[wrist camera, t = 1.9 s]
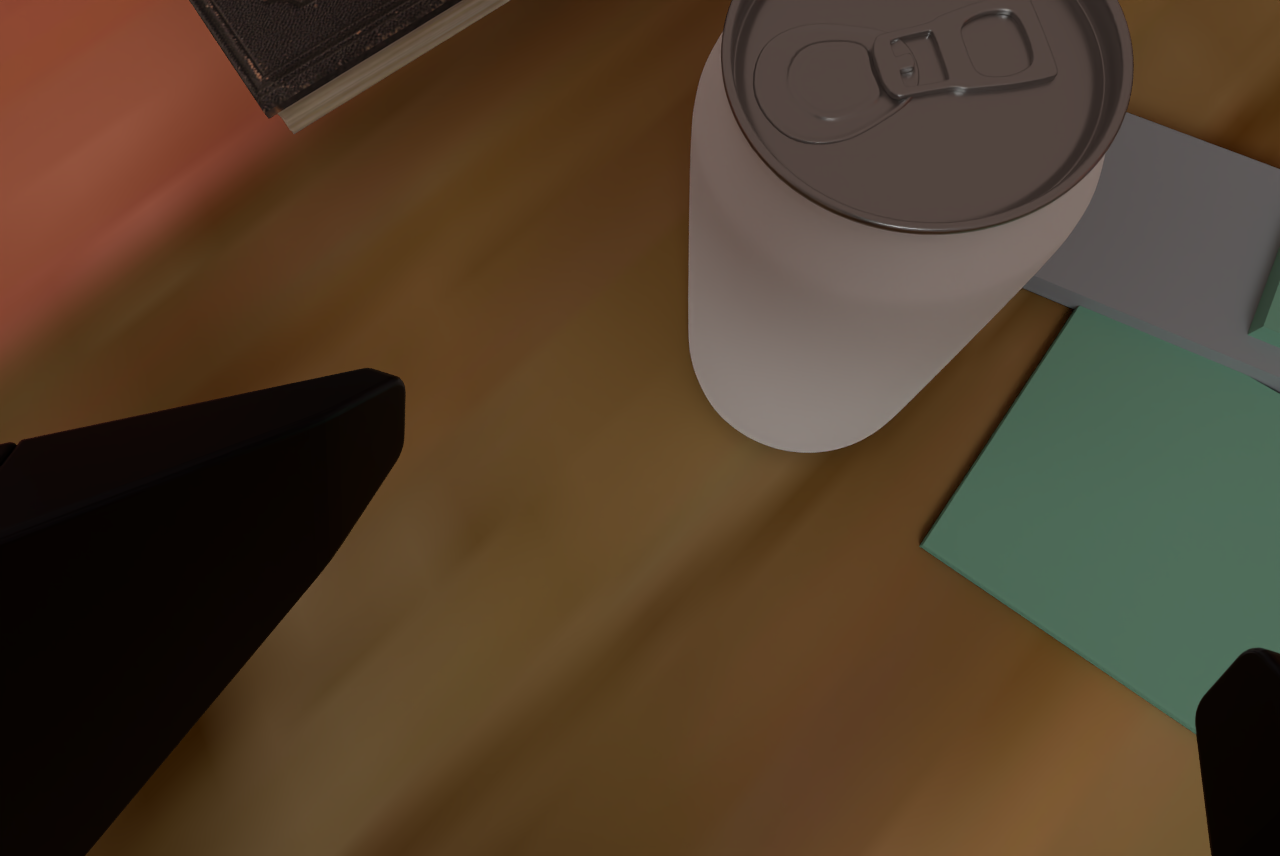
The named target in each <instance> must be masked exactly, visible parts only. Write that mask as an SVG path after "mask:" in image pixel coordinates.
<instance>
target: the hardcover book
mask: <svg viewBox="0 0 1280 856" xmlns="http://www.w3.org/2000/svg"><path fill="white" fill-rule="evenodd" d="M189 1H190V2H191V4H192V5H193V7H194V8H195V10H196V11H197V13H198V14H199V16H200V17H201V19H202V20H203V22H204V23H205V25H206V26H207V28H208V29H209V31H210V32H211V34H212V35H213V37H214V38H215V40H216V41H217V43H218V44H219V46H220V47H221V49H222V50H223V52H224V53H225V55H226V56H227V58H228V59H229V61H230V62H231V64H232V65H233V67H234V68H235V70H236V71H237V73H238V74H239V76H240V77H241V79H242V80H243V82H244V83H245V85H246V86H247V88H248V89H249V91H250V92H251V94H252V95H253V97H254V98H255V100H256V101H257V103H258V104H259V106H260V107H261V109H262V110H263V112H264V113H265V115H266V116H267V117H268V118H271V117H273V116H274V115H276V114H278V115H279V116H281V117H282V119H283V120H284V122H285V123H286V125H287V126H288V128H289V129H290V130H291V131H292V132H293V134H295V133H297V132H298V131H300V130H301V129H303V128H305V127H306V126H308V125H310V124H311V123H313V122H314V121H316V120H318V119H319V118H321V117H323V116H324V115H326V114H327V113H329V112H331V111H332V110H334V109H335V108H337V107H339V106H340V105H342V104H344V103H345V102H347V101H348V100H350V99H352V98H353V97H355V96H356V95H358V94H360V93H361V92H363V91H365V90H366V89H368V88H369V87H371V86H373V85H374V84H376V83H377V82H379V81H381V80H382V79H384V78H386V77H387V76H389V75H390V74H392V73H394V72H395V71H397V70H398V69H400V68H402V67H403V66H405V65H407V64H408V63H410V62H411V61H413V60H415V59H416V58H418V57H419V56H421V55H423V54H424V53H426V52H428V51H429V50H431V49H432V48H434V47H436V46H437V45H439V44H441V43H442V42H444V41H445V40H447V39H449V38H450V37H452V36H453V35H455V34H457V33H458V32H460V31H462V30H463V29H465V28H466V27H468V26H470V25H471V24H473V23H474V22H476V21H478V20H479V19H481V18H483V17H484V16H486V15H487V14H489V13H491V12H492V11H494V10H495V9H497V8H499V7H500V6H502V5H504V4H505V3H507V2H508V1H510V0H189Z"/></svg>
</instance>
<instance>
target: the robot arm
mask: <svg viewBox="0 0 1280 856" xmlns="http://www.w3.org/2000/svg"><path fill="white" fill-rule="evenodd" d="M404 431H405V386H404V383H403V381H402V380H401V379H400V378H399V377H397V376H394V375H391V374H388V373H385V372H381V371H378V370H375V369H372V368H363V369H358V370H354V371H349V372H344V373H339V374H334V375H330V376H325V377H320V378H315V379H311V380H306V381H301V382H296V383H291V384H287V385H282V386H277V387H272V388H268V389H263V390H258V391H253V392H248V393H244V394H239V395H234V396H229V397H225V398H220V399H215V400H210V401H205V402H201V403H196V404H191V405H186V406H182V407H177V408H172V409H167V410H162V411H158V412H153V413H148V414H143V415H139V416H134V417H129V418H124V419H119V420H115V421H110V422H105V423H100V424H96V425H91V426H86V427H81V428H77V429H72V430H67V431H62V432H57V433H53V434H48V435H43V436H38V437H34V438H29V439H24V440H21V441H20V442H19V443H18V445H16V444H15V443H12V442H8V443H4V444H0V856H85V855H86V854H87V853H88V852H89V850H90V849H91V848H92V847H93V846H94V844H95V843H96V842H97V841H98V840H99V838H100V837H101V836H102V835H103V834H104V832H105V831H106V830H107V829H108V828H109V826H110V825H111V824H112V823H113V822H114V820H115V819H116V818H117V817H118V816H119V814H120V813H121V812H122V811H123V810H124V808H125V807H126V806H127V805H128V804H129V802H130V801H131V800H132V799H133V798H134V796H135V795H136V794H137V793H138V792H139V790H140V789H141V788H142V787H143V786H144V784H145V783H146V782H147V781H148V780H149V778H150V777H151V776H152V775H153V774H154V773H155V771H156V770H157V769H158V768H159V767H160V765H161V764H162V763H163V762H164V761H165V759H166V758H167V757H168V756H169V755H170V753H171V752H172V751H173V750H174V749H175V747H176V746H177V745H178V744H179V743H180V741H181V740H182V739H183V738H184V737H185V735H186V734H187V733H188V732H189V731H190V729H191V728H192V727H193V726H194V725H195V723H196V722H197V721H198V720H199V719H200V717H201V716H202V715H203V714H204V713H205V711H206V710H207V709H208V708H209V707H210V705H211V704H212V703H213V702H214V701H215V699H216V698H217V697H218V696H219V695H220V693H221V692H222V691H223V690H224V689H225V687H226V686H227V685H228V684H229V683H230V681H231V680H232V679H233V678H234V677H235V675H236V674H237V673H238V672H239V671H240V669H241V668H242V667H243V666H244V665H245V663H246V662H247V661H248V660H249V659H250V657H251V656H252V655H253V654H254V653H255V651H256V650H257V649H258V648H259V647H260V645H261V644H262V643H263V642H264V641H265V639H266V638H267V637H268V636H269V635H270V633H271V632H272V631H273V630H274V629H275V627H276V626H277V625H278V624H279V623H280V621H281V620H282V619H283V618H284V617H285V615H286V614H287V613H288V612H289V611H290V609H291V608H292V607H293V606H294V605H295V603H296V602H297V601H298V600H299V599H300V597H301V596H302V595H303V594H304V593H305V591H306V590H307V589H308V588H309V587H310V585H311V584H312V583H313V582H314V581H315V579H316V578H317V577H318V576H319V575H320V573H321V572H322V571H323V569H324V568H325V567H326V566H327V564H328V563H329V562H330V561H331V559H332V558H333V556H334V555H335V554H336V552H337V551H338V549H339V548H340V546H341V545H342V544H343V542H344V541H345V539H346V538H347V536H348V534H349V533H350V531H351V530H352V528H353V527H354V525H355V524H356V522H357V521H358V519H359V518H360V516H361V515H362V513H363V512H364V510H365V509H366V507H367V506H368V504H369V502H370V501H371V499H372V498H373V496H374V495H375V493H376V492H377V490H378V489H379V487H380V486H381V484H382V483H383V481H384V480H385V478H386V477H387V475H388V473H389V472H390V470H391V469H392V467H393V466H394V464H395V463H396V461H397V460H398V458H399V456H400V453H401V451H402V448H403V443H404ZM1195 727H1196V736H1197V744H1198V752H1199V760H1200V768H1201V776H1202V784H1203V792H1204V801H1205V809H1206V817H1207V825H1208V833H1209V841H1210V849H1211V855H1212V856H1280V653H1277V652H1274V651H1271V650H1268V649H1264V648H1260V647H1258V648H1250V649H1248V650H1246V651H1244V652H1242V653H1241V654H1240V655H1239V656H1238V657H1237V658H1236V660H1235V661H1234V662H1233V663H1232V664H1231V665H1230V666H1229V668H1228V669H1227V670H1226V671H1225V672H1224V673H1223V674H1222V675H1221V677H1220V678H1219V679H1218V680H1217V681H1216V682H1215V683H1214V685H1213V686H1212V687H1211V688H1210V689H1209V690H1208V691H1207V692H1206V694H1205V695H1204V696H1203V697H1202V699H1201V700H1200V702H1199V704H1198V707H1197V710H1196V716H1195Z"/></svg>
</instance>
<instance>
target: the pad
mask: <svg viewBox="0 0 1280 856" xmlns="http://www.w3.org/2000/svg"><path fill="white" fill-rule="evenodd" d="M920 547H921V548H923V549H924V550H926V551H927V552H929V553H930V554H932V555H933V556H935V557H936V558H938V559H939V560H940V561H942V562H943V563H945V564H946V565H948V566H949V567H951V568H952V569H954V570H955V571H957V572H958V573H960V574H961V575H963V576H964V577H965V578H967V579H968V580H970V581H971V582H973V583H974V584H976V585H977V586H979V587H980V588H982V589H983V590H985V591H986V592H988V593H989V594H990V595H992V596H993V597H995V598H996V599H998V600H999V601H1001V602H1002V603H1004V604H1005V605H1007V606H1008V607H1010V608H1011V609H1013V610H1014V611H1015V612H1017V613H1018V614H1020V615H1021V616H1023V617H1024V618H1026V619H1027V620H1029V621H1030V622H1032V623H1033V624H1035V625H1036V626H1038V627H1039V628H1040V629H1042V630H1043V631H1045V632H1046V633H1048V634H1049V635H1051V636H1052V637H1054V638H1055V639H1057V640H1058V641H1060V642H1061V643H1063V644H1064V645H1065V646H1067V647H1068V648H1070V649H1071V650H1073V651H1074V652H1076V653H1077V654H1079V655H1080V656H1082V657H1083V658H1085V659H1086V660H1088V661H1089V662H1091V663H1092V664H1093V665H1095V666H1096V667H1098V668H1099V669H1101V670H1102V671H1104V672H1105V673H1107V674H1108V675H1110V676H1111V677H1113V678H1114V679H1116V680H1117V681H1118V682H1120V683H1121V684H1123V685H1124V686H1126V687H1127V688H1129V689H1130V690H1132V691H1133V692H1135V693H1136V694H1138V695H1139V696H1141V697H1142V698H1143V699H1145V700H1146V701H1148V702H1149V703H1151V704H1152V705H1154V706H1155V707H1157V708H1158V709H1160V710H1161V711H1163V712H1164V713H1166V714H1167V715H1168V716H1170V717H1171V718H1173V719H1174V720H1176V721H1177V722H1179V723H1180V724H1182V725H1183V726H1185V727H1186V728H1188V729H1189V730H1191V731H1192V732H1193V733H1195V734H1196V727H1195V716H1196V710H1197V707H1198V704H1199V702H1200V700H1201V699H1202V697H1203V696H1204V695H1205V694H1206V692H1207V691H1208V690H1209V689H1210V688H1211V687H1212V686H1213V685H1214V683H1215V682H1216V681H1217V680H1218V679H1219V678H1220V677H1221V675H1222V674H1223V673H1224V672H1225V671H1226V670H1227V669H1228V668H1229V666H1230V665H1231V664H1232V663H1233V662H1234V661H1235V660H1236V658H1237V657H1238V656H1239V655H1240V654H1241V653H1242V652H1244V651H1246V650H1248V649H1250V648H1258V647H1260V648H1264V649H1268V650H1271V651H1274V652H1277V653H1280V394H1279V393H1277V392H1275V391H1274V390H1272V389H1270V388H1269V387H1267V386H1265V385H1263V384H1262V383H1260V382H1258V381H1256V380H1255V379H1253V378H1251V377H1250V376H1248V375H1245V374H1243V373H1241V372H1238V371H1236V370H1233V369H1231V368H1229V367H1226V366H1224V365H1221V364H1219V363H1217V362H1214V361H1212V360H1209V359H1207V358H1205V357H1202V356H1200V355H1197V354H1195V353H1193V352H1190V351H1188V350H1185V349H1183V348H1181V347H1178V346H1176V345H1173V344H1171V343H1169V342H1166V341H1164V340H1161V339H1159V338H1157V337H1154V336H1152V335H1149V334H1147V333H1145V332H1142V331H1140V330H1137V329H1135V328H1133V327H1130V326H1128V325H1125V324H1123V323H1121V322H1118V321H1116V320H1113V319H1111V318H1109V317H1106V316H1104V315H1101V314H1099V313H1097V312H1094V311H1092V310H1090V309H1087V308H1085V307H1082V306H1078V307H1077V308H1076V309H1075V310H1074V311H1073V313H1072V314H1071V316H1070V317H1069V319H1068V320H1067V322H1066V323H1065V325H1064V326H1063V328H1062V329H1061V331H1060V333H1059V334H1058V336H1057V337H1056V339H1055V340H1054V342H1053V343H1052V345H1051V346H1050V348H1049V349H1048V351H1047V352H1046V354H1045V355H1044V357H1043V358H1042V360H1041V361H1040V363H1039V365H1038V366H1037V368H1036V369H1035V371H1034V372H1033V374H1032V375H1031V377H1030V378H1029V380H1028V381H1027V383H1026V384H1025V386H1024V387H1023V389H1022V390H1021V392H1020V393H1019V395H1018V397H1017V398H1016V400H1015V401H1014V403H1013V404H1012V406H1011V407H1010V409H1009V410H1008V412H1007V413H1006V415H1005V416H1004V418H1003V419H1002V421H1001V422H1000V424H999V425H998V427H997V429H996V430H995V432H994V433H993V435H992V436H991V438H990V439H989V441H988V442H987V444H986V445H985V447H984V448H983V450H982V451H981V453H980V454H979V456H978V457H977V459H976V461H975V462H974V464H973V465H972V467H971V468H970V470H969V471H968V473H967V474H966V476H965V477H964V479H963V480H962V482H961V483H960V485H959V486H958V488H957V489H956V491H955V493H954V494H953V496H952V497H951V499H950V500H949V502H948V503H947V505H946V506H945V508H944V509H943V511H942V512H941V514H940V515H939V517H938V518H937V520H936V522H935V523H934V525H933V526H932V528H931V529H930V531H929V532H928V534H927V535H926V537H925V538H924V540H923V541H922V543H921V544H920Z"/></svg>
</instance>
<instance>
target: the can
mask: <svg viewBox="0 0 1280 856" xmlns="http://www.w3.org/2000/svg"><path fill="white" fill-rule="evenodd" d="M1133 68H1134V64H1133V49H1132V43H1131V37H1130V33H1129V29H1128V25H1127V22H1126V19H1125V16H1124V13H1123V11H1122V8H1121V6H1120V4H1119V2H1118V0H732V1H731V4H730V7H729V9H728V13H727V16H726V20H725V24H724V29H723V32H722V34H721V35H720V37H719V38H718V40H717V42H716V44H715V45H714V47H713V49H712V51H711V53H710V55H709V57H708V59H707V61H706V64H705V66H704V69H703V71H702V74H701V77H700V81H699V84H698V88H697V93H696V98H695V104H694V110H693V117H692V132H691V152H690V199H689V278H688V331H689V349H690V355H691V360H692V364H693V368H694V371H695V374H696V376H697V379H698V381H699V383H700V386H701V388H702V390H703V392H704V394H705V395H706V397H707V399H708V400H709V402H710V404H711V405H712V406H713V408H714V409H715V410H716V411H717V413H718V414H719V415H720V416H721V417H722V418H723V419H724V420H725V421H726V422H727V423H729V424H730V425H731V426H732V427H733V428H735V429H736V430H738V431H739V432H741V433H742V434H744V435H745V436H747V437H749V438H751V439H753V440H755V441H757V442H759V443H762V444H764V445H767V446H770V447H773V448H776V449H780V450H785V451H791V452H802V453H814V452H825V451H831V450H836V449H840V448H843V447H846V446H849V445H852V444H854V443H856V442H859V441H861V440H863V439H865V438H866V437H868V436H870V435H871V434H873V433H875V432H876V431H877V430H879V429H880V428H882V427H883V426H884V425H885V424H886V423H888V422H889V421H890V420H891V419H892V418H893V417H894V416H895V415H896V414H897V413H898V412H899V411H901V410H902V409H903V408H904V407H905V406H906V405H907V404H908V403H909V402H910V401H911V400H912V399H913V398H914V397H915V396H916V395H917V394H918V393H919V392H920V391H921V390H922V389H923V388H924V387H925V386H926V385H927V384H928V383H929V382H930V381H931V380H932V379H933V378H934V377H935V376H936V375H937V374H938V373H939V372H940V371H941V370H942V369H943V368H944V367H945V366H946V365H947V364H948V363H949V362H950V361H951V360H952V359H953V358H954V357H955V356H956V355H957V354H958V353H959V352H960V351H961V350H962V349H963V348H964V347H965V346H966V345H967V344H968V342H969V341H970V340H971V339H972V338H973V337H974V336H975V335H976V334H977V333H978V332H979V331H980V330H981V329H982V328H983V327H984V326H985V325H986V324H987V323H988V322H989V321H990V320H991V319H992V318H993V317H994V316H995V315H996V314H997V313H998V312H999V311H1000V310H1001V309H1002V308H1003V307H1004V306H1005V305H1006V304H1007V303H1008V302H1009V301H1010V300H1011V299H1012V298H1013V297H1014V296H1015V295H1016V294H1017V293H1018V291H1019V290H1020V289H1021V288H1022V287H1023V286H1024V285H1025V284H1026V283H1027V282H1028V281H1029V280H1030V279H1031V278H1032V277H1033V276H1034V275H1035V274H1036V273H1037V272H1038V271H1039V270H1040V269H1041V267H1042V266H1043V265H1044V264H1045V263H1046V262H1047V261H1048V260H1049V258H1050V257H1051V256H1052V255H1053V254H1054V253H1055V252H1056V251H1057V250H1058V248H1059V247H1060V246H1061V245H1062V244H1063V242H1064V241H1065V240H1066V239H1067V237H1068V236H1069V235H1070V233H1071V232H1072V230H1073V229H1074V228H1075V226H1076V225H1077V223H1078V222H1079V220H1080V219H1081V217H1082V216H1083V214H1084V212H1085V210H1086V209H1087V207H1088V205H1089V203H1090V201H1091V199H1092V197H1093V194H1094V192H1095V189H1096V187H1097V184H1098V181H1099V177H1100V174H1101V170H1102V166H1103V162H1104V157H1105V153H1106V152H1107V150H1108V149H1109V147H1110V146H1111V144H1112V142H1113V141H1114V139H1115V137H1116V135H1117V133H1118V131H1119V129H1120V127H1121V125H1122V122H1123V120H1124V117H1125V114H1126V111H1127V108H1128V105H1129V101H1130V96H1131V91H1132V84H1133Z"/></svg>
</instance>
